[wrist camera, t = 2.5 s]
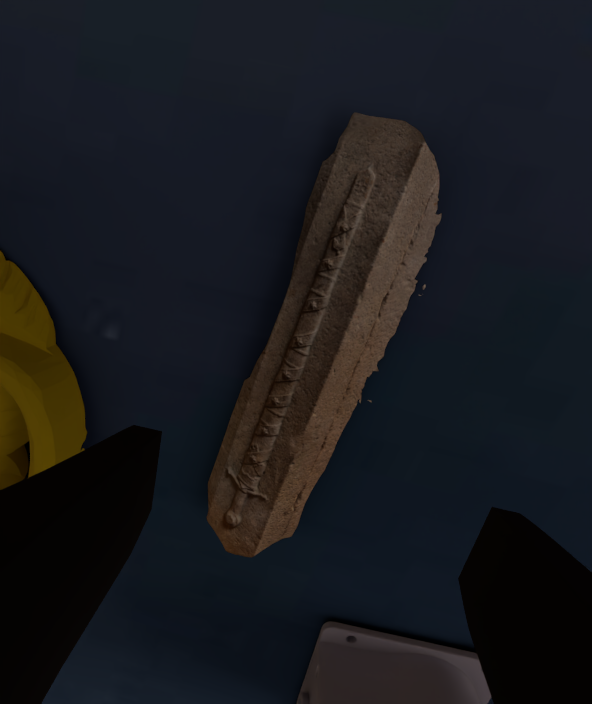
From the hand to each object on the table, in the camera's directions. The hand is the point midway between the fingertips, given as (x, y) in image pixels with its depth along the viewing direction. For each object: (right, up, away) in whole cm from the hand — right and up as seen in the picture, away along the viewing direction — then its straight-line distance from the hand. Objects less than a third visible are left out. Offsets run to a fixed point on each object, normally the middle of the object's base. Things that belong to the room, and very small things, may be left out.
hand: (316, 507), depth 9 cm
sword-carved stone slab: (0, +3, +8) cm, 9 cm away
